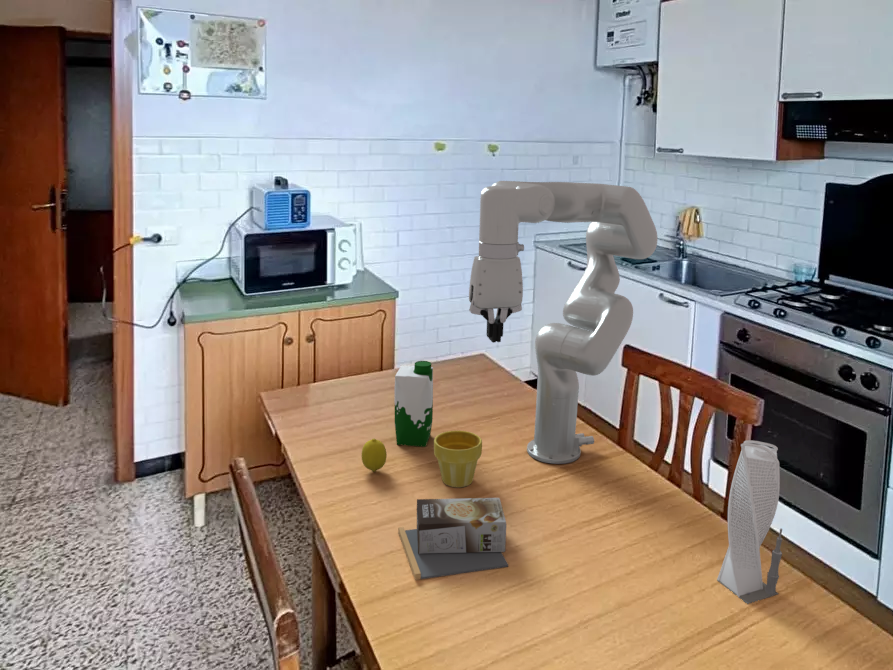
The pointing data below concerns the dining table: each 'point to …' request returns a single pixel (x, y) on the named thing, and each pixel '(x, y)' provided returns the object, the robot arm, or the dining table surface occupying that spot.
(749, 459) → the skyscraper
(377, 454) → the lemon
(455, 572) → the mat
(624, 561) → the dining table surface
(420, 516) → the coffee box
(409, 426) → the milk carton
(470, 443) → the plant pot
